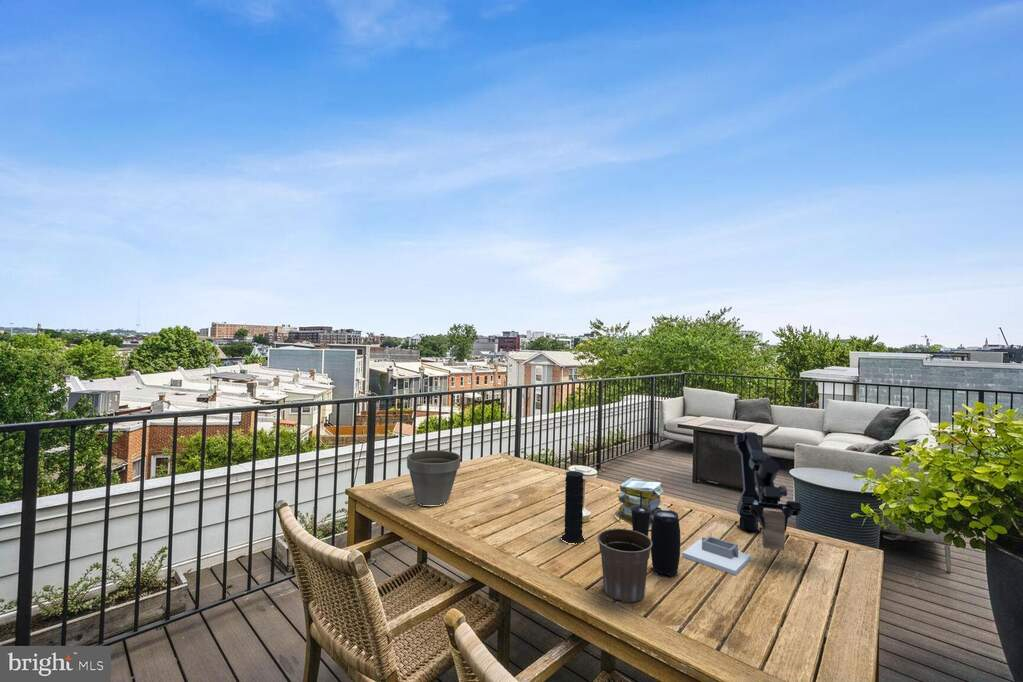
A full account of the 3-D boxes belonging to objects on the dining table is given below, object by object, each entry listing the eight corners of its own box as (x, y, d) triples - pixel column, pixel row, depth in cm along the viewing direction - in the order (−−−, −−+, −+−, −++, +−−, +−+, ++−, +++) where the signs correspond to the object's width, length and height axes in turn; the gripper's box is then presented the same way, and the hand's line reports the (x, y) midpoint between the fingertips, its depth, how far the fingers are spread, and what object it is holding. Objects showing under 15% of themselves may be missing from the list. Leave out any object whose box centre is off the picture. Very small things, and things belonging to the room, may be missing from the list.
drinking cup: (651, 550, 167) (652, 495, 167) (630, 548, 169) (631, 494, 169) (649, 541, 175) (650, 489, 175) (629, 539, 176) (630, 487, 176)
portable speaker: (645, 567, 154) (646, 509, 154) (667, 563, 157) (668, 506, 157) (662, 580, 146) (663, 519, 146) (685, 575, 149) (686, 515, 149)
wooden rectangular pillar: (762, 544, 158) (762, 509, 158) (781, 546, 156) (782, 511, 156) (765, 549, 154) (766, 514, 154) (785, 551, 153) (785, 516, 153)
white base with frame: (700, 543, 174) (700, 531, 174) (750, 559, 161) (751, 546, 161) (682, 556, 162) (682, 544, 162) (735, 575, 150) (735, 561, 150)
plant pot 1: (470, 500, 217) (471, 454, 217) (435, 516, 196) (436, 465, 196) (431, 490, 230) (432, 447, 230) (394, 504, 209) (395, 457, 209)
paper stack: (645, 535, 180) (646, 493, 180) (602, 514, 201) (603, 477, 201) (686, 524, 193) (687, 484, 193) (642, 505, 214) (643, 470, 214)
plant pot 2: (620, 613, 127) (621, 555, 128) (585, 585, 142) (586, 533, 142) (663, 599, 135) (664, 544, 135) (626, 574, 149) (626, 525, 149)
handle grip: (582, 547, 168) (589, 537, 177) (583, 476, 168) (590, 469, 178) (556, 542, 173) (565, 532, 182) (558, 472, 173) (566, 466, 182)
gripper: (741, 473, 162) (748, 516, 151) (800, 478, 157) (812, 522, 147) (736, 488, 170) (742, 530, 159) (792, 494, 165) (803, 537, 154)
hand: (774, 529), depth 155 cm, fingers closed on wooden rectangular pillar, 6 cm apart
